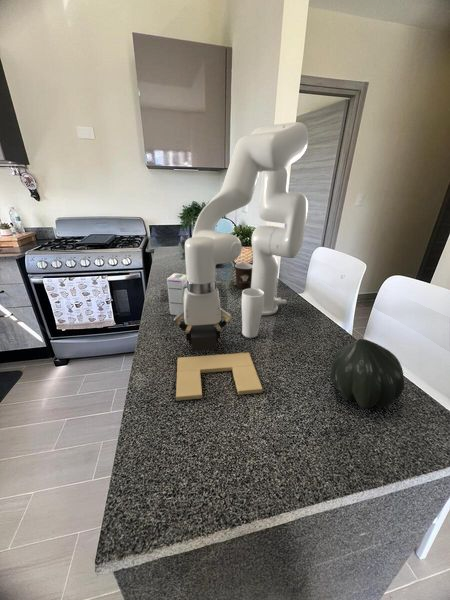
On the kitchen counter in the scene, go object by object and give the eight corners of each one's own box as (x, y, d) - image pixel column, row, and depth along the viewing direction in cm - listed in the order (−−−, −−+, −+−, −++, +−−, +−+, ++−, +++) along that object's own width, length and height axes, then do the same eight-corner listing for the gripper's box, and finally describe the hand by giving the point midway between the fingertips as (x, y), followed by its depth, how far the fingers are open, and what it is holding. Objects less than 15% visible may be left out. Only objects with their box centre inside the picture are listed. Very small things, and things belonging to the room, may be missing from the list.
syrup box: (184, 316, 92) (182, 279, 86) (169, 314, 93) (166, 277, 87) (189, 309, 97) (188, 274, 91) (175, 307, 98) (172, 272, 92)
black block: (214, 335, 78) (213, 323, 76) (216, 349, 71) (216, 336, 69) (191, 337, 77) (190, 324, 75) (192, 351, 70) (191, 338, 68)
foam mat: (248, 355, 72) (249, 352, 71) (262, 392, 59) (262, 388, 59) (177, 361, 69) (177, 357, 68) (176, 400, 56) (176, 396, 56)
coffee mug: (231, 287, 118) (232, 267, 114) (237, 281, 125) (238, 262, 121) (255, 291, 114) (257, 270, 110) (260, 285, 121) (262, 265, 117)
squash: (432, 401, 51) (404, 329, 54) (372, 420, 47) (346, 341, 51) (378, 396, 64) (358, 338, 68) (328, 410, 60) (310, 348, 64)
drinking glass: (246, 342, 78) (249, 298, 71) (235, 331, 83) (237, 290, 77) (264, 336, 81) (269, 294, 74) (252, 327, 86) (256, 286, 80)
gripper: (231, 278, 70) (230, 331, 78) (168, 281, 68) (174, 336, 76) (236, 289, 64) (234, 346, 72) (166, 292, 61) (173, 351, 69)
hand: (203, 340), depth 74 cm, fingers closed on black block, 7 cm apart
